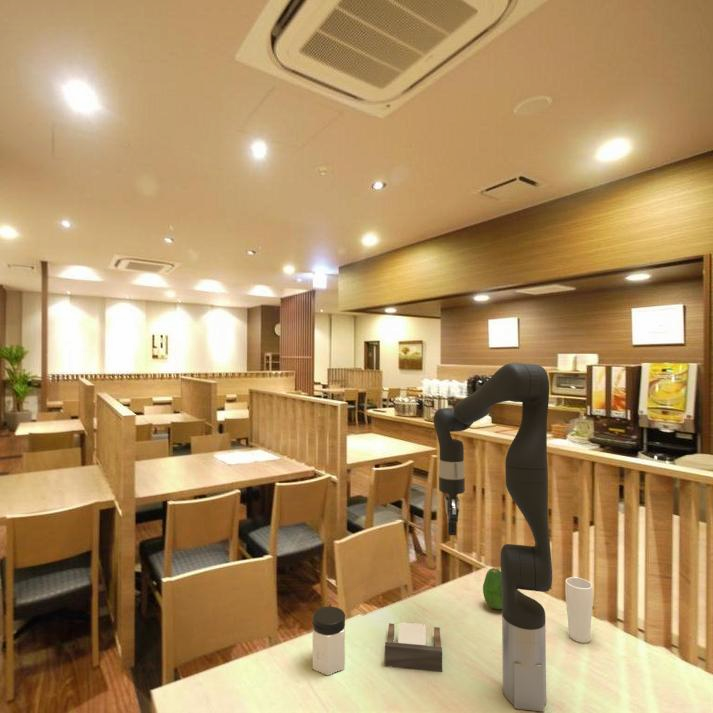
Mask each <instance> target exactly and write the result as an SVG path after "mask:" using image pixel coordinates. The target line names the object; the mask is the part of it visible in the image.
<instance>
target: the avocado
mask: <svg viewBox="0 0 713 713" xmlns="http://www.w3.org/2000/svg"><path fill="white" fill-rule="evenodd" d="M482 593H483V598H484V601H485V603H486V604H487V605H488V606H489V607H490V608H491V609H492V610H493V609H494V610H502V579H501V569H498V568H495V567H492V568H490V569H488V571H486V575H485V576H484V581H483V585H482Z"/></svg>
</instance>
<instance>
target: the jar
mask: <svg viewBox="0 0 713 713" xmlns="http://www.w3.org/2000/svg"><path fill="white" fill-rule="evenodd" d="M345 626H346V613H345V612H344V610H342V609H341V608H338V607H337V606H324V607H323V606H322V607H320V608H318V609H317V610H315V611H314V613H313V615H312V670H313V669H314V671H316V672H318V671H319V673H320V672H321V674H323V673H324V674H323V675H325V674H326V675H325V676H330V675H329V674H331V673H333V674H335V673H334V672H336V673H338V672H341V671H343V670H345V664H346V663H345V659H346V649H345V648H346V646H345V644H346V642H345V640H346V639H345V638H346V637H345V636H346V628H345ZM340 670H341V671H340ZM337 671H338V672H337ZM331 675H332V674H331Z"/></svg>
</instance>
